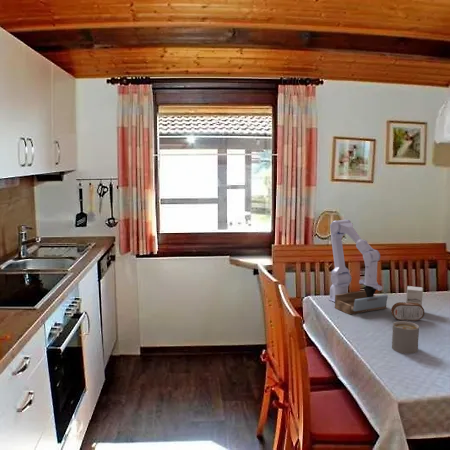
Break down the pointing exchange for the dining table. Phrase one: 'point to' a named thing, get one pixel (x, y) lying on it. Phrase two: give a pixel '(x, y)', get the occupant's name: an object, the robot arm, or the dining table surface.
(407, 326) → the coffee mug
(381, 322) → the dining table surface
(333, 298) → the robot arm
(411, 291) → the supplement box
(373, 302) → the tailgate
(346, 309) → the wooden tray
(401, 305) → the tin
